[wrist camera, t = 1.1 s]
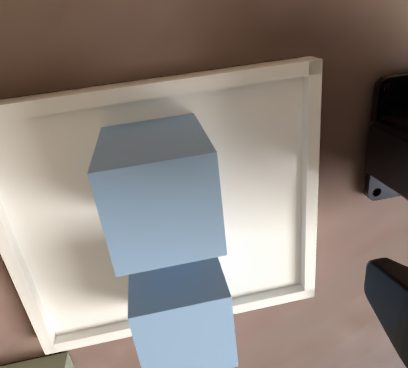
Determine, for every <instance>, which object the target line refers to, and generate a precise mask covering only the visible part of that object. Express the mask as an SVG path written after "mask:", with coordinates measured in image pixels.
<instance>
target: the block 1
mask: <svg viewBox="0 0 408 368" xmlns="http://www.w3.org/2000/svg"><path fill="white" fill-rule="evenodd" d="M87 175H88V179H89V182H90V186H91V189H92V193H93V196H94V200H95V204H96V207H97V211H98V214H99V218H100V222H101V225H102V229H103V232H104V236H105V240H106V243H107V247H108V250H109V254H110V257H111V261H112V265H113V268H114V272H115V275H116V277H120V276H125V275H130V274H135V273H140V272H145V271H150V270H155V269H160V268H165V267H170V266H175V265H180V264H185V263H190V262H195V261H200V260H205V259H210V258H215V257H220V256H225V255H227V247H226V237H225V227H224V217H223V207H222V197H221V187H220V177H219V167H218V157H217V151H216V150H215V148H214V146H213V145H212V143H211V141H210V139H209V138H208V136H207V134H206V133H205V131H204V129H203V128H202V126H201V124H200V123H199V121H198V119H197V118H196V116H195V114H194V113H191V114H184V115H178V116H171V117H165V118H158V119H152V120H145V121H139V122H132V123H126V124H119V125H113V126H106V127H101V130H100V133H99V136H98V140H97V143H96V146H95V150H94V153H93V156H92V160H91V163H90V166H89V169H88V173H87Z"/></svg>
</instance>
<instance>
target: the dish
mask: <svg viewBox="0 0 408 368" xmlns="http://www.w3.org/2000/svg"><path fill="white" fill-rule="evenodd" d="M322 67H323V59H321V58H317V57H312V56H307V57H300V58H293V59H286V60H279V61H271V62H264V63H257V64H250V65H243V66H236V67H229V68H222V69H215V70H208V71H201V72H194V73H187V74H180V75H173V76H165V77H158V78H151V79H144V80H137V81H130V82H123V83H116V84H109V85H102V86H95V87H88V88H81V89H74V90H66V91H59V92H52V93H45V94H38V95H31V96H24V97H17V98H10V99H3V100H0V254H1V256H2V258H3V261H4V263H5V265H6V267H7V270H8V272H9V274H10V276H11V279H12V281H13V283H14V285H15V288H16V290H17V292H18V294H19V297H20V299H21V301H22V303H23V306H24V308H25V310H26V312H27V315H28V317H29V319H30V321H31V324H32V326H33V328H34V330H35V333H36V335H37V337H38V339H39V342H40V344H41V346H42V348H43V351H44V353H45V355H47V354H52V353H57V352H61V351H66V350H70V349H75V348H80V347H84V346H89V345H93V344H98V343H103V342H107V341H112V340H116V339H121V338H126V337H130V336H132V333H131V329H130V326H129V322H128V281H129V275H125V276H120V277H116V275H115V272H114V268H113V265H112V261H111V257H110V254H109V250H108V247H107V243H106V240H105V236H104V232H103V229H102V225H101V222H100V218H99V214H98V211H97V207H96V204H95V200H94V196H93V193H92V189H91V186H90V182H89V179H88V175H87V173H88V169H89V166H90V163H91V160H92V156H93V153H94V150H95V146H96V143H97V140H98V136H99V133H100V130H101V127H106V126H113V125H119V124H126V123H132V122H139V121H145V120H152V119H158V118H165V117H171V116H178V115H184V114H191V113H194V114H195V116H196V118H197V119H198V121H199V123H200V124H201V126H202V128H203V129H204V131H205V133H206V134H207V136H208V138H209V139H210V141H211V143H212V145H213V146H214V148H215V150H216V151H217V157H218V167H219V177H220V187H221V197H222V207H223V217H224V227H225V237H226V247H227V255H225V256H220V257H218V259H219V262H220V265H221V268H222V271H223V274H224V276H225V279H226V282H227V285H228V288H229V291H230V294H231V297H232V307H233V314H236V313H241V312H246V311H250V310H255V309H260V308H264V307H269V306H273V305H278V304H283V303H287V302H292V301H296V300H301V299H306V298H310V297H314V293H315V264H316V236H317V208H318V180H319V151H320V123H321V95H322Z"/></svg>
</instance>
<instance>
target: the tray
mask: <svg viewBox="0 0 408 368" xmlns="http://www.w3.org/2000/svg"><path fill="white" fill-rule="evenodd" d="M0 368H74V366H73V363H72V361H71V358H70V356H69V353H68V352H64V353H59V354H55V355H50V356H45V357H41V358H36V359H32V360H27V361H22V362H18V363H13V364H9V365H4V366H0Z"/></svg>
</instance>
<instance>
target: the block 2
mask: <svg viewBox="0 0 408 368" xmlns="http://www.w3.org/2000/svg"><path fill="white" fill-rule="evenodd" d="M128 322H129V326H130V329H131V333H132V336H133V340H134V344H135V347H136V351H137V354H138V358H139V362H140V365H141V368H232V367H236V366H238V358H237V348H236V338H235V328H234V317H233V307H232V297H231V294H230V291H229V288H228V285H227V282H226V279H225V276H224V274H223V271H222V268H221V265H220V262H219V259H218V257H215V258H210V259H205V260H200V261H195V262H190V263H185V264H180V265H175V266H170V267H165V268H160V269H155V270H150V271H145V272H140V273H135V274H130V275H129V281H128Z"/></svg>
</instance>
